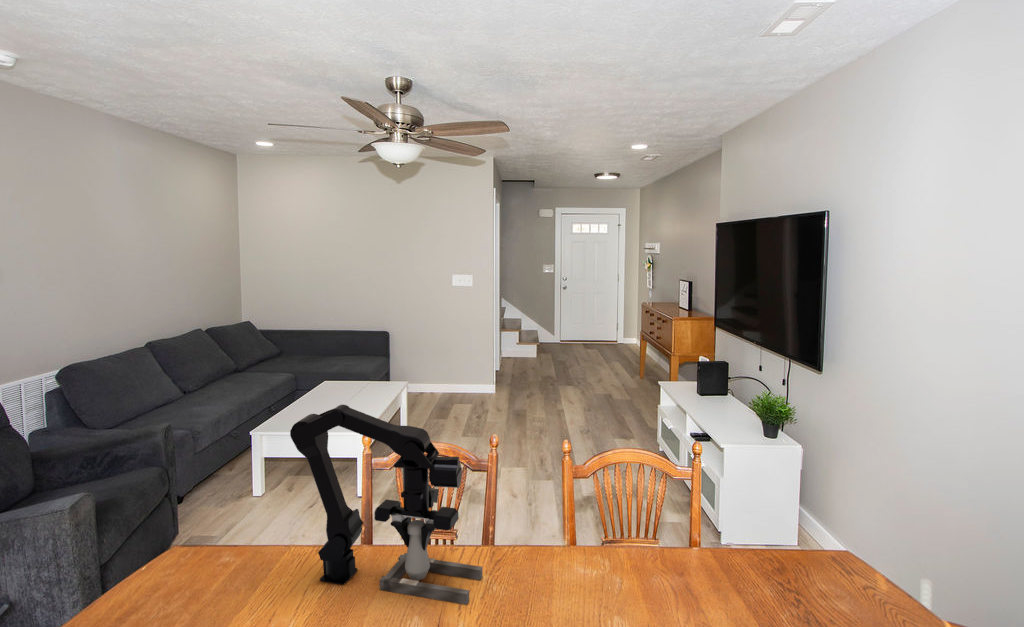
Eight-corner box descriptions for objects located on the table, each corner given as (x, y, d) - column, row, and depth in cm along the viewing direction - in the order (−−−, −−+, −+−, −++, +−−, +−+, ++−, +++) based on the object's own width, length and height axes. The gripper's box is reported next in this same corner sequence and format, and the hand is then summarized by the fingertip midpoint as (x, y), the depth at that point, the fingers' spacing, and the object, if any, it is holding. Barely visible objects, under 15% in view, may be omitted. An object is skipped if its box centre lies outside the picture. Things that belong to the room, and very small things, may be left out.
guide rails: (379, 590, 130) (379, 577, 130) (401, 564, 141) (401, 552, 140) (466, 604, 125) (466, 592, 124) (482, 576, 135) (482, 564, 135)
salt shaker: (425, 584, 130) (423, 530, 129) (401, 581, 131) (399, 527, 130) (433, 569, 136) (432, 517, 134) (410, 567, 137) (409, 515, 135)
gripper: (466, 475, 136) (466, 537, 138) (394, 467, 141) (396, 527, 143) (449, 495, 125) (450, 562, 127) (372, 485, 130) (374, 550, 132)
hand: (417, 549), depth 133 cm, fingers closed on salt shaker, 3 cm apart
